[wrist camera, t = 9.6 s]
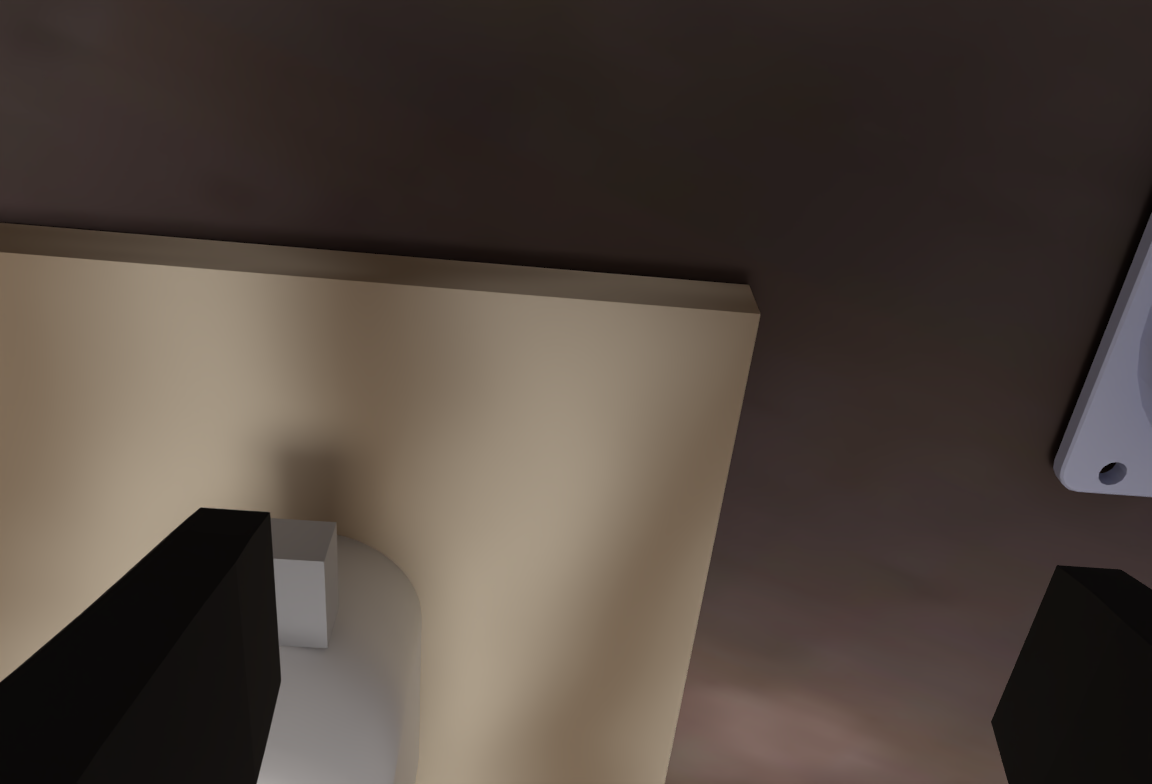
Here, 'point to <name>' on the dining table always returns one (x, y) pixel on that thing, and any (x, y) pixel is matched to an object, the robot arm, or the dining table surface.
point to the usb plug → (342, 662)
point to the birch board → (391, 462)
